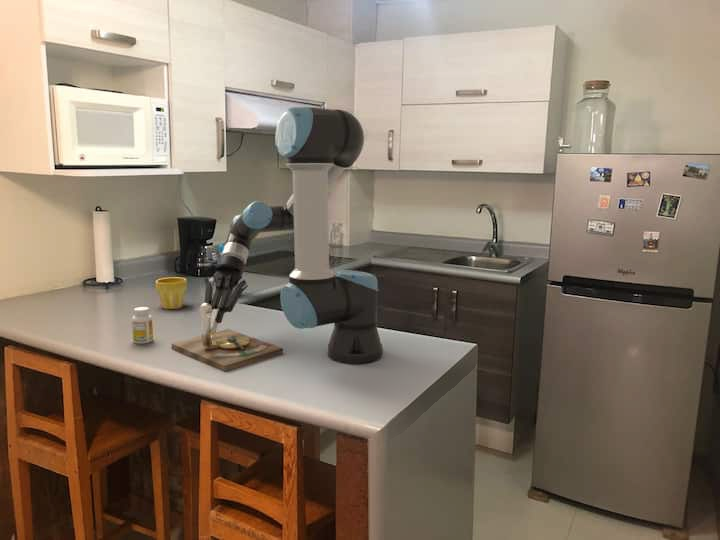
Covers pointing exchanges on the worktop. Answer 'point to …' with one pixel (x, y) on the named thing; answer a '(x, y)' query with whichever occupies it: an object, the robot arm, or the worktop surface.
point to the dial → (221, 343)
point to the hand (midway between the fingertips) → (210, 332)
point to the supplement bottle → (142, 325)
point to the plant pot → (171, 291)
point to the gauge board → (227, 351)
